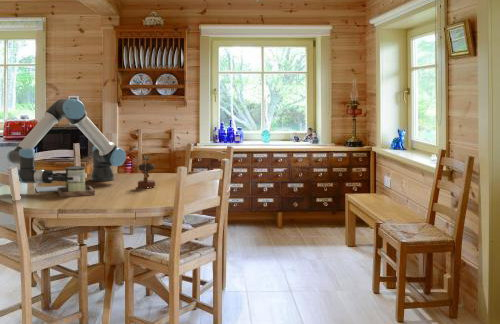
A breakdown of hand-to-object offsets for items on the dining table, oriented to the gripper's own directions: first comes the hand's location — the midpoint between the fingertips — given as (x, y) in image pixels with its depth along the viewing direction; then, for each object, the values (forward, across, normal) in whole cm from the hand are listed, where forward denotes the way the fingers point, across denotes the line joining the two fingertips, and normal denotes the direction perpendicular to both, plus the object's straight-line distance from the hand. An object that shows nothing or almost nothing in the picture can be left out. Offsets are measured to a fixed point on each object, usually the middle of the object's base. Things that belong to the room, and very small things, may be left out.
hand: (82, 177), depth 287 cm
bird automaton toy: (+29, -27, -10) cm, 41 cm away
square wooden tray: (-4, 0, -9) cm, 10 cm away
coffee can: (-4, 0, -9) cm, 10 cm away
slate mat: (-23, -10, -9) cm, 27 cm away
